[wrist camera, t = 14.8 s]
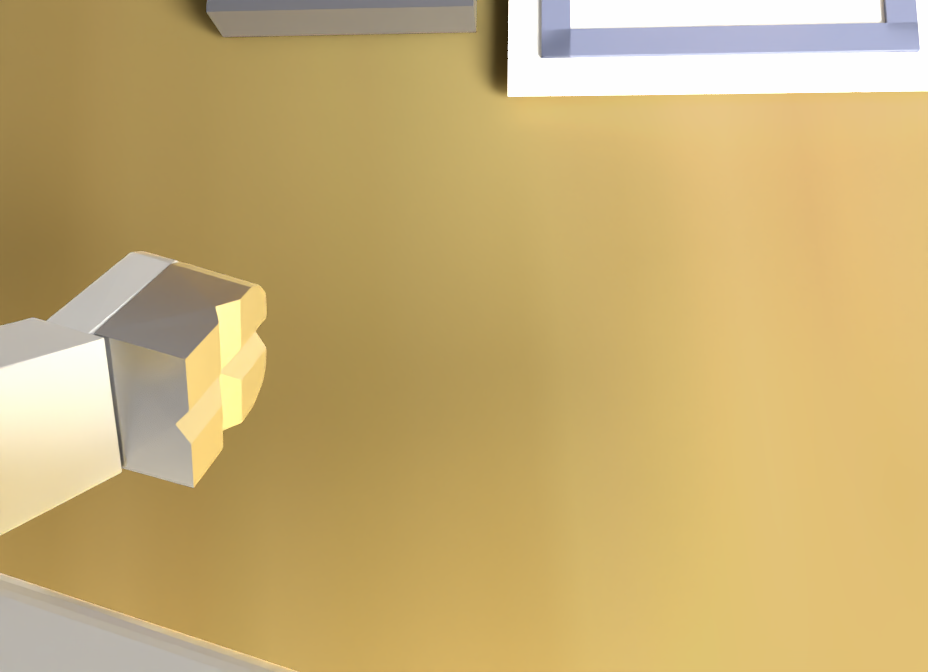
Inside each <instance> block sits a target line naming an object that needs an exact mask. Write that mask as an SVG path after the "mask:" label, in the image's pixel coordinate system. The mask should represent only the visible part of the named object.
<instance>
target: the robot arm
mask: <svg viewBox="0 0 928 672" xmlns="http://www.w3.org/2000/svg"><path fill="white" fill-rule="evenodd" d="M266 317H267V308H266V292H265V291H264V290H263V288H262V287H261V286H260V285H258V284H255V283H252V282H248V281H245V280H242V279H238V278H235V277H232V276H228V275H225V274H222V273H218V272H215V271H212V270H208V269H205V268H201V267H198V266H195V265H191V264H188V263H185V262H178V261H177V260H174V259H170V258H167V257H163V256H160V255H156V254H152V253H149V252H145V251H136V252H130V253H129V254H128V255H126V256H125V257H124V258H123V259H121V260H120V261H119V262H118V263H117V264H115V265H114V266H113V267H112V268H110V269H109V270H108V271H107V272H105V273H104V274H103V275H102V276H101V277H99V278H98V279H97V280H96V281H94V282H93V283H92V284H91V285H89V286H88V287H87V288H86V289H84V290H83V291H82V292H81V293H80V294H78V295H77V296H76V297H75V298H73V299H72V300H71V301H70V302H68V303H67V304H66V305H65V306H64V307H62V308H61V309H60V310H59V311H57V312H56V313H55V314H54V315H52V316H51V317H50V318H49V319H48V320H46V321H44V320H41V319H37V318H34V317H32V318H28V319H25V320H21V321H17V322H13V323H9V324H5V325H1V326H0V536H1V535H3V534H5V533H7V532H8V531H10V530H12V529H14V528H16V527H18V526H20V525H22V524H24V523H26V522H28V521H30V520H31V519H33V518H35V517H37V516H39V515H41V514H43V513H45V512H47V511H49V510H51V509H53V508H54V507H56V506H58V505H60V504H62V503H64V502H66V501H68V500H70V499H72V498H74V497H76V496H77V495H79V494H81V493H83V492H85V491H87V490H89V489H91V488H93V487H95V486H97V485H99V484H100V483H102V482H104V481H106V480H108V479H110V478H112V477H114V476H116V475H118V474H120V473H122V468H123V469H127V470H131V471H134V472H138V473H141V474H145V475H149V476H152V477H156V478H159V479H163V480H167V481H170V482H174V483H177V484H181V485H185V486H188V487H192V488H194V487H195V486H196V484H197V483H198V482H199V480H200V479H201V478H202V476H203V475H204V474H205V472H206V471H207V470H208V468H209V467H210V465H211V464H212V463H213V461H214V460H215V459H216V457H217V456H218V455H219V453H220V452H221V451H222V449H223V430H225V429H228V428H230V427H233V426H235V425H238V424H240V423H242V422H243V420H244V419H245V418H246V416H247V415H248V413H249V412H250V410H251V409H252V407H253V406H254V403H255V401H256V399H257V396H258V394H259V391H260V389H261V386H262V384H263V379H264V374H265V368H266V349H267V348H266V346H265V345H264V343H263V342H262V340H261V339H260V337H259V336H258V334H257V333H256V330H257V329H258V327H259V326H260V325H261V324H262V322H263V321H264V320H265V319H266ZM0 672H299V671H296V670H293V669H290V668H287V667H284V666H281V665H278V664H275V663H272V662H268V661H265V660H262V659H259V658H256V657H253V656H250V655H247V654H244V653H241V652H238V651H235V650H232V649H229V648H226V647H223V646H220V645H217V644H214V643H211V642H208V641H205V640H202V639H199V638H196V637H193V636H190V635H187V634H184V633H181V632H178V631H175V630H172V629H169V628H166V627H163V626H160V625H157V624H154V623H151V622H148V621H145V620H142V619H139V618H136V617H132V616H129V615H126V614H123V613H120V612H117V611H114V610H111V609H108V608H105V607H102V606H99V605H96V604H93V603H90V602H87V601H84V600H81V599H78V598H75V597H72V596H69V595H66V594H63V593H60V592H57V591H54V590H51V589H48V588H45V587H42V586H39V585H36V584H33V583H30V582H27V581H24V580H21V579H18V578H15V577H12V576H9V575H6V574H3V573H0Z"/></svg>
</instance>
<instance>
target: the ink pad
mask: <svg viewBox="0 0 928 672" xmlns="http://www.w3.org/2000/svg"><path fill="white" fill-rule="evenodd" d="M206 12H207V14H208V15H209V17H210V18H211V20H212V21H213V23H214V24H215V26H216V27H217V29H218V30H219V32H220V33H221V35H222V36H223V37H251V36H303V35H354V34H406V33H458V32H476V15H477V0H207V6H206Z"/></svg>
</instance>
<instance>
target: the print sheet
mask: <svg viewBox="0 0 928 672" xmlns="http://www.w3.org/2000/svg"><path fill="white" fill-rule="evenodd" d="M888 91H928V0H509V13H508V97H518V96H592V95H666V94H740V93H814V92H888Z"/></svg>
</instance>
